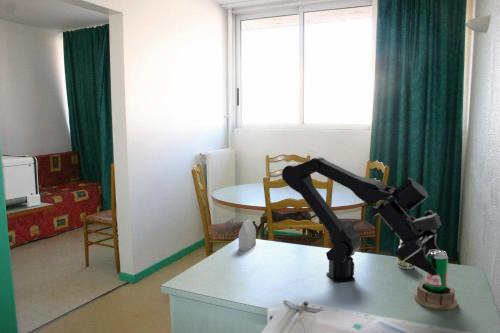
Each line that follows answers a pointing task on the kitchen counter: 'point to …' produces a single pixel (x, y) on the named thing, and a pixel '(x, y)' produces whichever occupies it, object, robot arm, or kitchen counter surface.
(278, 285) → the kitchen counter surface
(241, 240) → the grey pointed block
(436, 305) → the holder
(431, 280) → the soda can
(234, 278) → the kitchen counter surface
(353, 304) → the kitchen counter surface
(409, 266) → the supplement bottle
